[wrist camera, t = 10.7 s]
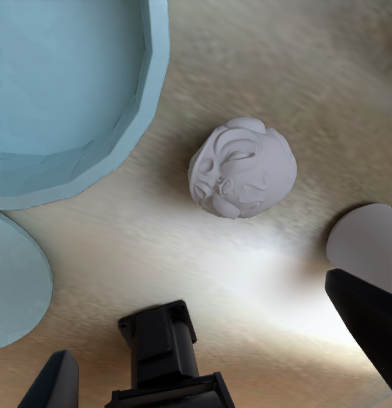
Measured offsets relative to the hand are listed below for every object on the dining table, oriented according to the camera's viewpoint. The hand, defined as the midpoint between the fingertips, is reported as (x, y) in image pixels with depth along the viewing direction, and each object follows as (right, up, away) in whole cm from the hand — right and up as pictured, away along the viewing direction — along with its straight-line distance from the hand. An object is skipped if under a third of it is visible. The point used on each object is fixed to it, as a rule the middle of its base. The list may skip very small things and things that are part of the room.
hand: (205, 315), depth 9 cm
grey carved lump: (+2, +8, +10) cm, 13 cm away
